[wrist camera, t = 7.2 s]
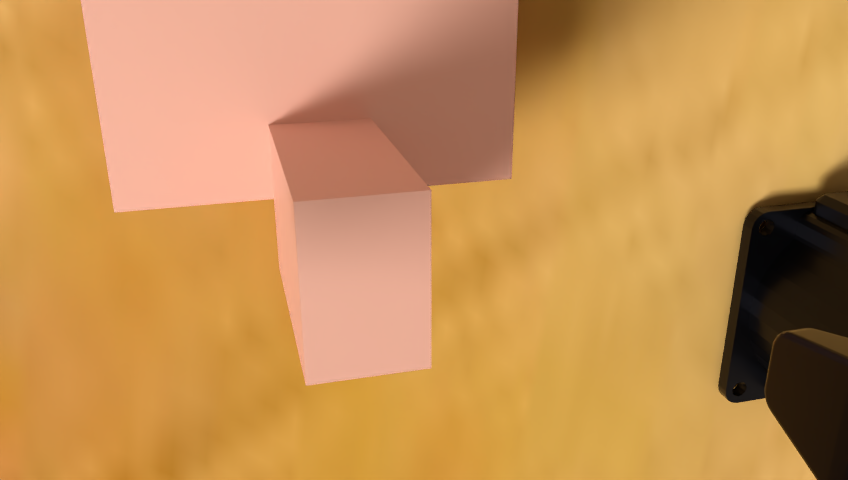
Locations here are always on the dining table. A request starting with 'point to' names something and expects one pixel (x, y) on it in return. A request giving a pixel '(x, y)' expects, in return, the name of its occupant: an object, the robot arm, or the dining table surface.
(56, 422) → the dining table surface
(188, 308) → the dining table surface
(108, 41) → the pink t-shaped block
